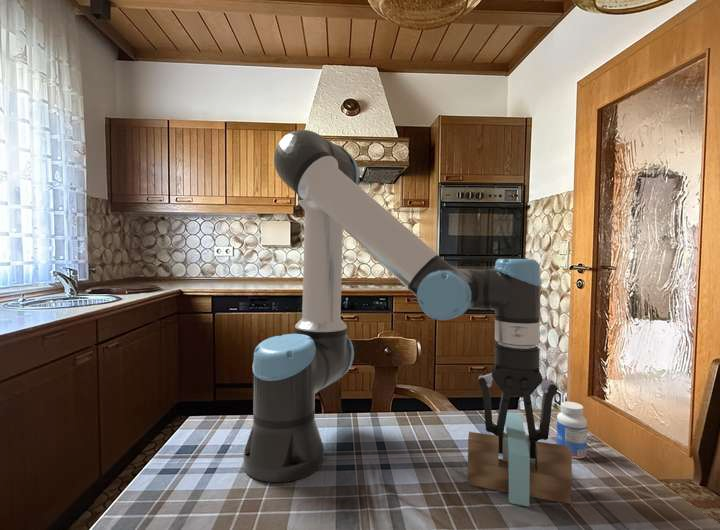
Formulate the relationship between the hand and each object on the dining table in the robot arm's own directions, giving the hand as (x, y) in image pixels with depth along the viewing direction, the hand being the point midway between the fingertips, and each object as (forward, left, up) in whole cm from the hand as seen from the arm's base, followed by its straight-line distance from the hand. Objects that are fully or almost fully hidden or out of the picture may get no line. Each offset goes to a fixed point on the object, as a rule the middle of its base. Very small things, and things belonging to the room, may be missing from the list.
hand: (515, 472), depth 70 cm
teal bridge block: (0, 0, 0) cm, 0 cm away
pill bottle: (+11, +13, -1) cm, 17 cm away
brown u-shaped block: (0, -4, 0) cm, 5 cm away
